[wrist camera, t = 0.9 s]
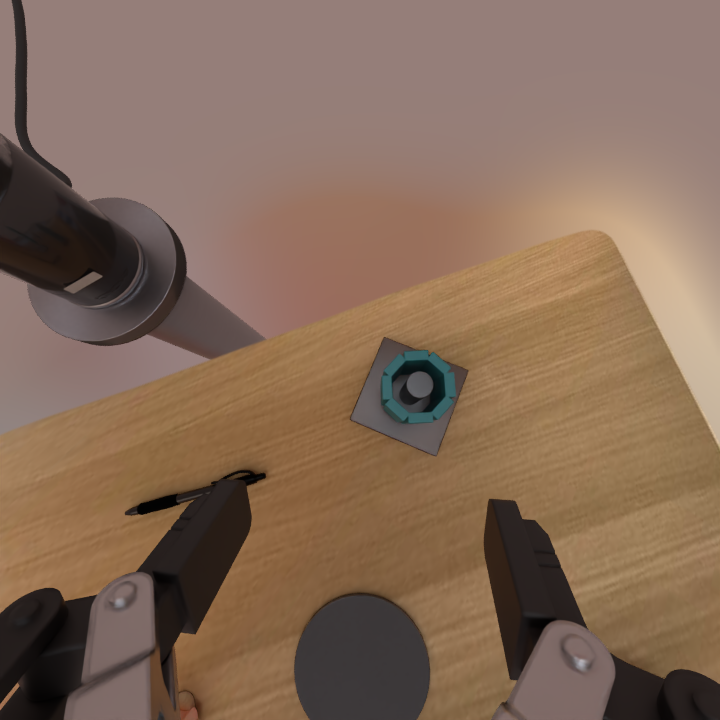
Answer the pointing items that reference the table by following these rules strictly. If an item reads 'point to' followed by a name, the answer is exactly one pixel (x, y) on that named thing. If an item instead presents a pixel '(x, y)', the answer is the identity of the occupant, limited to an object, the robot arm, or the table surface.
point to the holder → (404, 401)
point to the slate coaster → (361, 662)
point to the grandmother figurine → (187, 706)
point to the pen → (189, 495)
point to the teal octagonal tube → (438, 396)
